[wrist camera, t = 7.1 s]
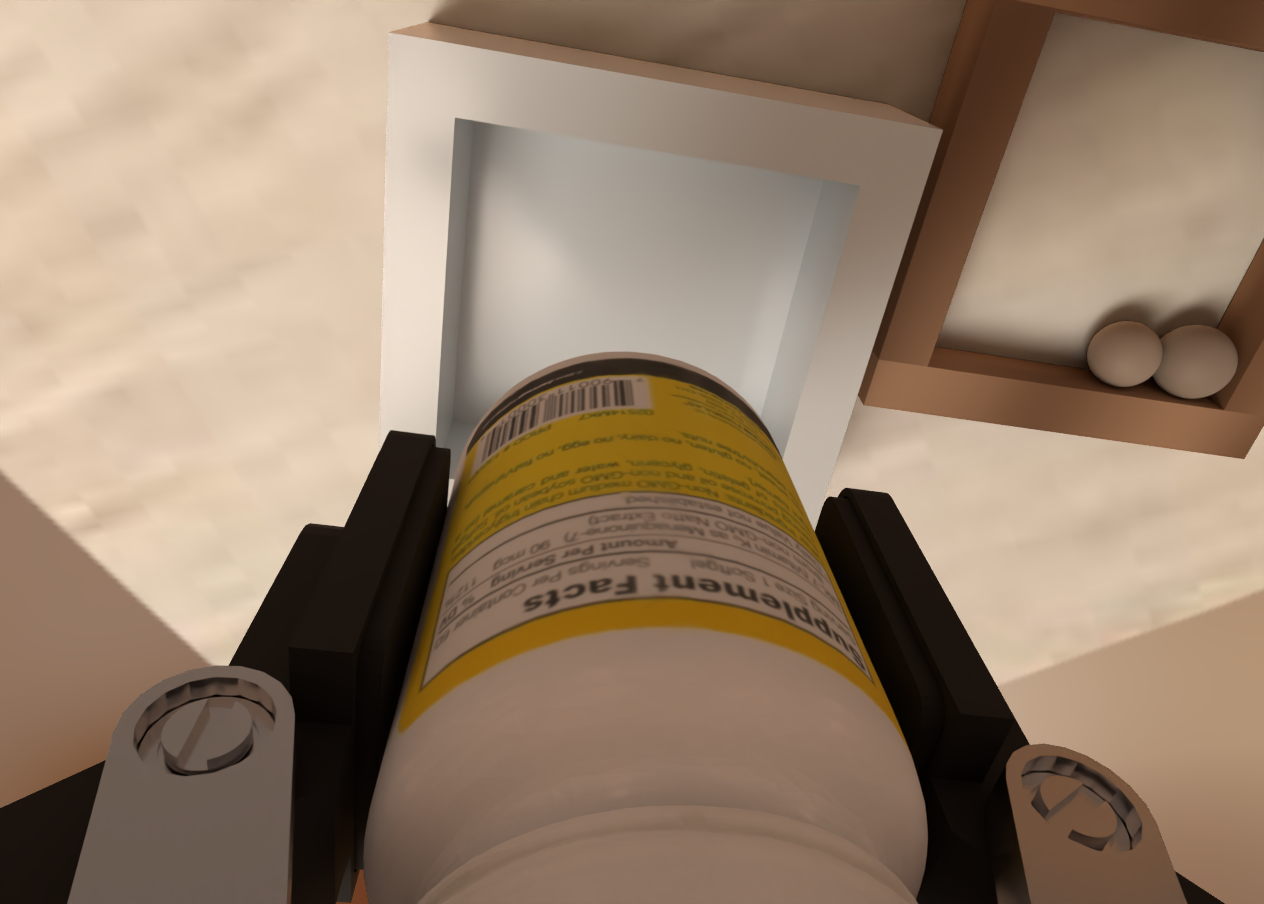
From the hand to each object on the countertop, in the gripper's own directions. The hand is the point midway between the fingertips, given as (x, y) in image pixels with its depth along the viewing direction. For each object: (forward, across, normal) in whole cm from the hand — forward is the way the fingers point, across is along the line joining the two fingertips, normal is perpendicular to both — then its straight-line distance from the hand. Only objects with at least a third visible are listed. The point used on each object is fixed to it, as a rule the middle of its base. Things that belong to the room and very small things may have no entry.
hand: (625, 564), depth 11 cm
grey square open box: (+11, 0, 0) cm, 11 cm away
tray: (+11, -11, -4) cm, 16 cm away
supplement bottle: (+2, 0, 0) cm, 2 cm away
